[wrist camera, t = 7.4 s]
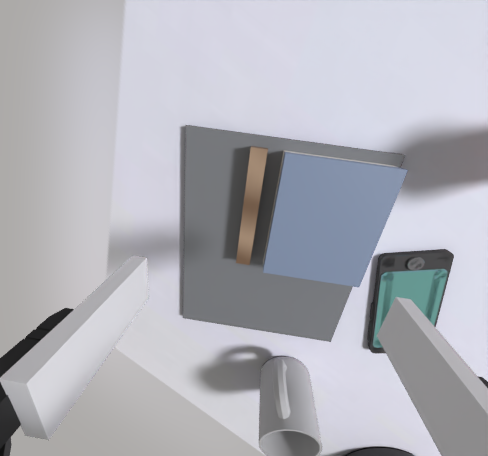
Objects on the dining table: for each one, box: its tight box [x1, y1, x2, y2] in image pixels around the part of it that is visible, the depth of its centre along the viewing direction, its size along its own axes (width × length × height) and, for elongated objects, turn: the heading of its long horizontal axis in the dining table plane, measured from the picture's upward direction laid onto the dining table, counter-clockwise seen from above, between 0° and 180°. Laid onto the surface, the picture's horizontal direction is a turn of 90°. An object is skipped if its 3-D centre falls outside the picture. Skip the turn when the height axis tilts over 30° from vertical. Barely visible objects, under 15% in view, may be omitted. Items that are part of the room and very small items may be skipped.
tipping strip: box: [236, 146, 268, 265], centre depth 23 cm, size 12×2×2 cm, turn 173°
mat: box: [183, 125, 405, 342], centre depth 26 cm, size 24×20×1 cm
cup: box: [259, 356, 322, 456], centre depth 30 cm, size 7×10×9 cm
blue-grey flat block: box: [263, 151, 408, 287], centre depth 22 cm, size 12×2×10 cm
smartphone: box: [368, 249, 454, 353], centre depth 27 cm, size 7×1×15 cm
